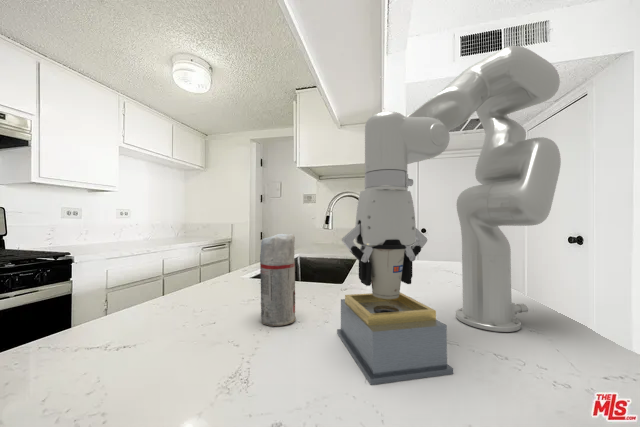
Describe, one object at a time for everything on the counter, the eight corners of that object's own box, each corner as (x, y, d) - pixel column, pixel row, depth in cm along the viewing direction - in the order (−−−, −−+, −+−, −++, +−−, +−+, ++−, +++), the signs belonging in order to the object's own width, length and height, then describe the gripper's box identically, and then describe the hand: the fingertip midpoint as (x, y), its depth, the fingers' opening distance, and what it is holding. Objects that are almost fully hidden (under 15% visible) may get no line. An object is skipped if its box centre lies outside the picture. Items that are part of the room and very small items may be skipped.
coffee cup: (359, 296, 45) (360, 239, 45) (373, 288, 51) (373, 237, 51) (400, 303, 41) (400, 240, 42) (410, 293, 47) (410, 238, 48)
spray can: (289, 329, 55) (290, 234, 55) (253, 326, 56) (254, 234, 57) (300, 315, 63) (301, 233, 64) (268, 312, 65) (269, 232, 65)
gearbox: (337, 333, 53) (337, 291, 53) (402, 327, 56) (401, 287, 56) (370, 385, 36) (370, 323, 36) (461, 372, 39) (460, 315, 39)
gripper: (416, 188, 52) (417, 277, 52) (333, 185, 49) (333, 280, 48) (441, 183, 45) (442, 286, 44) (346, 178, 41) (345, 290, 41)
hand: (385, 282), depth 46 cm, fingers closed on coffee cup, 7 cm apart
